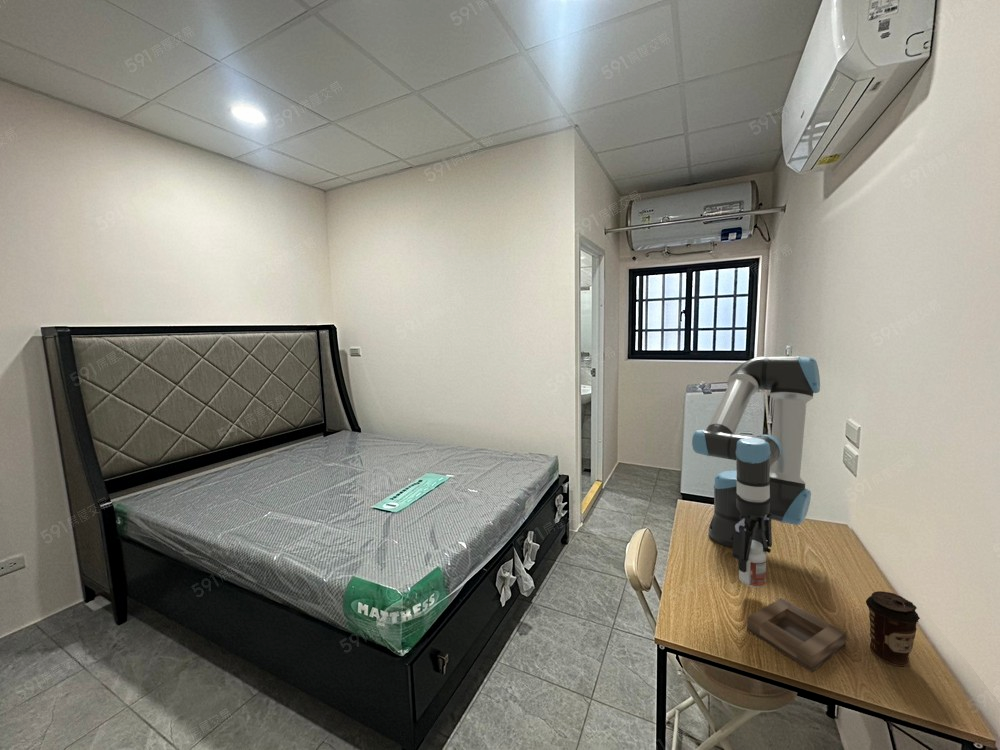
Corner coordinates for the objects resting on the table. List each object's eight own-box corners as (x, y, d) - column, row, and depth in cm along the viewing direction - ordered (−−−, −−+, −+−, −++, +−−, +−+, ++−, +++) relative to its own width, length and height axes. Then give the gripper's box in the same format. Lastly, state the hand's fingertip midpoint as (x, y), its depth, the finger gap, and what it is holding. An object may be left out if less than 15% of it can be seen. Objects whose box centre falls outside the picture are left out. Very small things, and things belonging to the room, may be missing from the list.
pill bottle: (734, 576, 114) (733, 539, 112) (753, 573, 115) (753, 536, 113) (751, 590, 108) (751, 551, 106) (771, 586, 109) (771, 548, 107)
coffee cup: (928, 665, 87) (931, 609, 85) (901, 676, 84) (904, 618, 83) (880, 637, 95) (882, 585, 94) (854, 646, 93) (856, 593, 91)
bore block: (780, 610, 105) (781, 597, 105) (845, 646, 93) (846, 632, 92) (747, 630, 99) (747, 617, 99) (811, 671, 87) (812, 656, 86)
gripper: (760, 483, 116) (759, 558, 119) (716, 500, 107) (716, 581, 110) (788, 492, 109) (787, 572, 112) (743, 511, 101) (743, 597, 104)
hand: (752, 576), depth 111 cm, fingers closed on pill bottle, 6 cm apart
